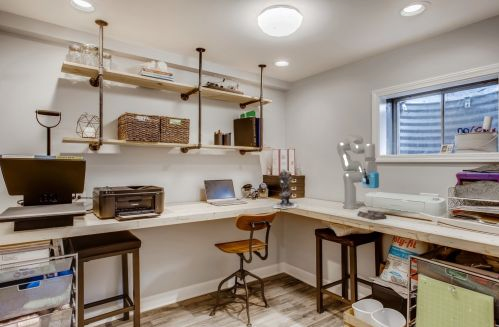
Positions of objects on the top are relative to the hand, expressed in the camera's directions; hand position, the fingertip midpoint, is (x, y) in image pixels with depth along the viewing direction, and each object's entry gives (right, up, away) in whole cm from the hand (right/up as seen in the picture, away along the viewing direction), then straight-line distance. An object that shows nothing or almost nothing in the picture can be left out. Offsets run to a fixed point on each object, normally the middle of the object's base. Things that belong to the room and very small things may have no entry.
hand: (370, 183), depth 218 cm
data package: (0, -3, 0) cm, 3 cm away
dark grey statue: (-60, -25, +47) cm, 80 cm away
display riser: (-2, -24, -6) cm, 25 cm away
